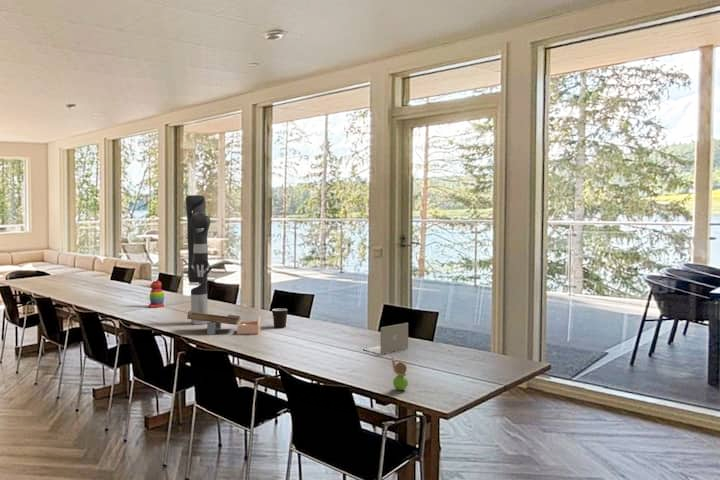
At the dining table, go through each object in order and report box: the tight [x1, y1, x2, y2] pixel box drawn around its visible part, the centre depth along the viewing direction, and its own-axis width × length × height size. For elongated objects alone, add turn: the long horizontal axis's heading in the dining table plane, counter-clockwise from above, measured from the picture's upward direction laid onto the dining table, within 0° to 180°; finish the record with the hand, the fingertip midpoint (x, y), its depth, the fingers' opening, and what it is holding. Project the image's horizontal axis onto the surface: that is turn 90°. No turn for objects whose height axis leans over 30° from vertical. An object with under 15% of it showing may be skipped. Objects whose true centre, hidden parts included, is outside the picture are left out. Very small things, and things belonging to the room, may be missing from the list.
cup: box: [236, 315, 262, 335], centre depth 313 cm, size 11×11×8 cm
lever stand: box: [206, 322, 222, 336], centre depth 316 cm, size 17×4×6 cm, turn 3°
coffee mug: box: [271, 307, 288, 329], centre depth 328 cm, size 12×9×10 cm
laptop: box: [364, 322, 409, 355], centre depth 275 cm, size 18×12×13 cm
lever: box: [186, 309, 241, 326], centre depth 315 cm, size 14×26×5 cm, turn 93°
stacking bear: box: [148, 279, 165, 309], centre depth 395 cm, size 11×10×18 cm
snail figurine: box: [391, 356, 409, 391], centre depth 214 cm, size 5×6×12 cm
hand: (201, 283), depth 318 cm, fingers closed
